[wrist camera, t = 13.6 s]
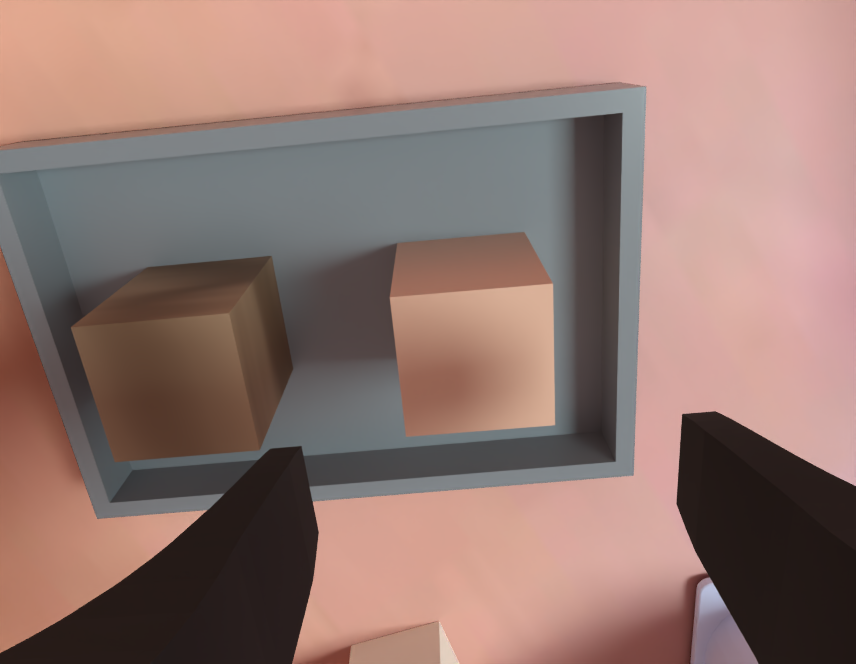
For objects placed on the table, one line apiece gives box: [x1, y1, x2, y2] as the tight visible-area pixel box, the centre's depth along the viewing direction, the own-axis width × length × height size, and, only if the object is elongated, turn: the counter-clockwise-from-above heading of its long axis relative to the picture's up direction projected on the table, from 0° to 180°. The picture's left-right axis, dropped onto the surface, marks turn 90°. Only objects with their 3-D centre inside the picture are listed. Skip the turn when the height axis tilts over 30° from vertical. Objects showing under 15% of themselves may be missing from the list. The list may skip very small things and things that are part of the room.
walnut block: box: [71, 256, 293, 462], centre depth 20 cm, size 4×4×5 cm
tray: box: [0, 82, 646, 519], centre depth 21 cm, size 18×12×2 cm
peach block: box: [390, 232, 555, 437], centre depth 19 cm, size 4×4×5 cm
